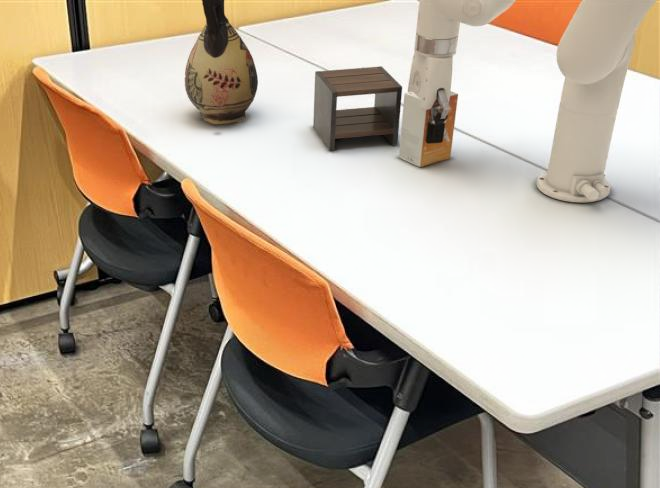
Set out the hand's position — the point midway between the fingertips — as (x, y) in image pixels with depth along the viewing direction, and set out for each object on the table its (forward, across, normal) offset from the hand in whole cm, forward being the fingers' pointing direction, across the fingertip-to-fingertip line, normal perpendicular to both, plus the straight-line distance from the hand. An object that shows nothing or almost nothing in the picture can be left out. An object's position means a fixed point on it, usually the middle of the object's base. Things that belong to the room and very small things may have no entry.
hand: (425, 132), depth 188 cm
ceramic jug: (+6, -30, -35) cm, 46 cm away
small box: (+5, 0, 0) cm, 5 cm away
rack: (+6, -14, -10) cm, 18 cm away
